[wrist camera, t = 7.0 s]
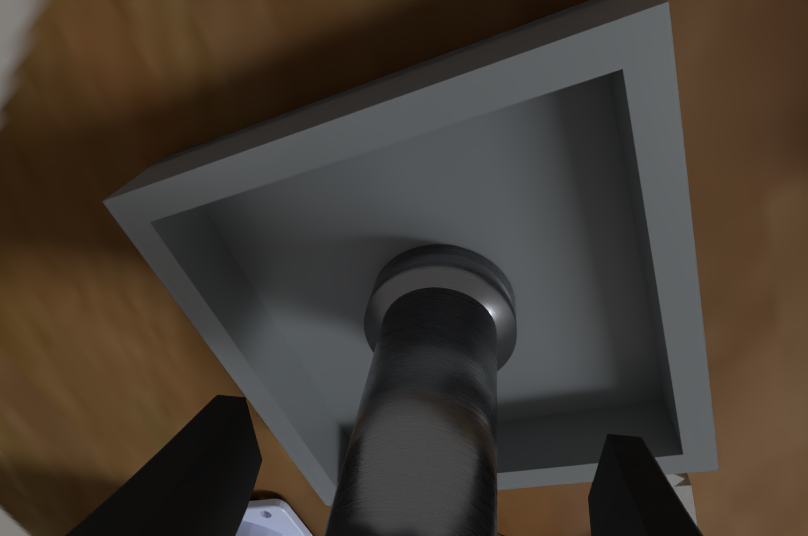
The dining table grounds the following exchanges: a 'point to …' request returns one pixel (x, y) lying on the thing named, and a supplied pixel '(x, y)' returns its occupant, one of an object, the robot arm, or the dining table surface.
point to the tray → (459, 241)
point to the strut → (429, 399)
